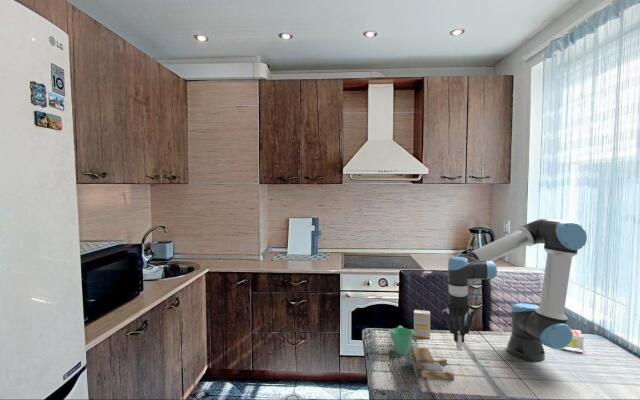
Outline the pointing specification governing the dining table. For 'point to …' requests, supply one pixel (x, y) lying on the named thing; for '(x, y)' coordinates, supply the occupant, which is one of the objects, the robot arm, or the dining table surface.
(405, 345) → the green pitcher
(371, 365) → the dining table surface
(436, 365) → the tile
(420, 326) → the supplement box
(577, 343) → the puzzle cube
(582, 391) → the dining table surface
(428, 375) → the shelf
